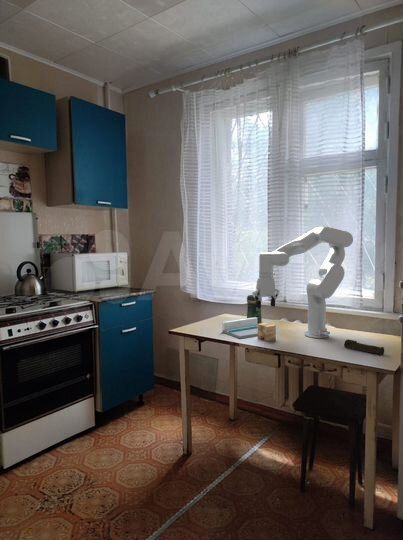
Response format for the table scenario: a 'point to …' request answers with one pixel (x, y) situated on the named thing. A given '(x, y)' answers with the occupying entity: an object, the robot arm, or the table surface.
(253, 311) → the coffee jar
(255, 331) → the cleat board
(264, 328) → the oak block
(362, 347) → the hand tool
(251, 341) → the table surface
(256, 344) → the table surface
